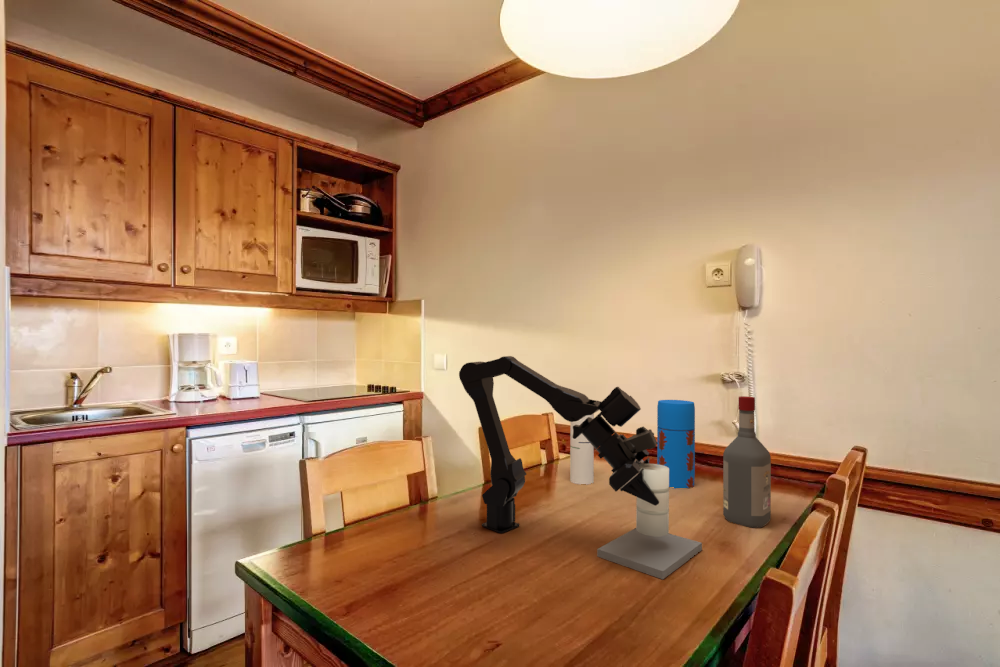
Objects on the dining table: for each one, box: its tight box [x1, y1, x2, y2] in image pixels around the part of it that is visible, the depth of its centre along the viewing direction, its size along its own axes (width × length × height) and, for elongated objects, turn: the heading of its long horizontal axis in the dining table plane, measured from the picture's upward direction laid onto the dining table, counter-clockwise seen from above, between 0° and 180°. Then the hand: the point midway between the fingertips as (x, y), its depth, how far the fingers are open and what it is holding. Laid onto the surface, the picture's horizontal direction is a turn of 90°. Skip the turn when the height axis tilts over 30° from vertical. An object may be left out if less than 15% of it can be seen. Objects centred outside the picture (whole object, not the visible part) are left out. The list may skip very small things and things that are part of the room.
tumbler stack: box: [635, 463, 670, 536], centre depth 104 cm, size 6×6×13 cm
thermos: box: [656, 399, 696, 489], centre depth 153 cm, size 11×11×25 cm
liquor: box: [722, 395, 772, 528], centre depth 122 cm, size 9×9×30 cm
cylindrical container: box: [569, 413, 595, 485], centre depth 155 cm, size 7×7×25 cm
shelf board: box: [596, 527, 703, 580], centre depth 103 cm, size 18×14×2 cm
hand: (659, 499), depth 103 cm, fingers closed on tumbler stack, 6 cm apart
